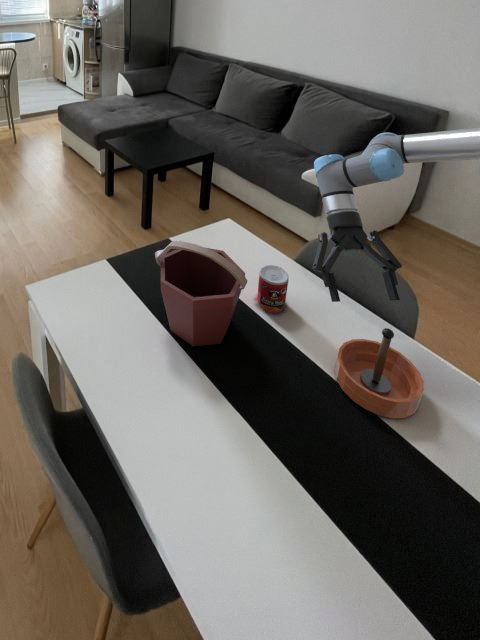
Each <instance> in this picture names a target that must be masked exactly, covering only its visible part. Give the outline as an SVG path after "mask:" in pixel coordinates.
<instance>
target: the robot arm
mask: <svg viewBox="0 0 480 640" xmlns="http://www.w3.org/2000/svg"><path fill="white" fill-rule="evenodd" d="M475 160H476V161H477V160H480V127H473V128H463V129H453V130H443V131H433V132H422V133H413V134H399V135H398V134H396V133H394V132H381V133H379V134H377V135H376V136H374V137H373V138H372V139H371V140H370V142H368V145H367V146H366V147H365V149H364V150H363V151H362V153H361V154H359V155H357V156H353V157H350V158H346V159H345V158H344V156H343V155H342V154H337V153H336V154H335V153H333V154H328V155H327V154H325V155H322V156H320V157H317V158H316V159H315V160H314V162H313V167H314V168H313V169H314V172H315V176H314V177H315V178H316V182H317V186H318V189H319V193H320V196H321V201H322V204H323V209H324V213H325V214H326V215H327V216H326V217H325V218H326V221H327V226H328V229H329V231H330V232H329V233H327V232H326V231H323V232H320V233H318V235H317V238H318V244H317V248H316V252H315V255H314V260H313V264H312V268H311V269H312V271H313V272H318V273H319V274H320V275H321V277H322V281H323V285H324V287H325V288H328V291H329V292H328V293H329V295H330V300H331V302H332V303H336V302H341V298H340V294H339V290H338V286H337V282H336V278H335V273H334V272H331V270H332V269H333V266H334V265H335V263H336V262H337V260H338V258H339V256H340V254H341V253H342V252H348V251H360V252H361V253H364V254H365V255H366V257H368V258H369V259H371V260H372V261H373V262H374V263H375V264H376V265H378V266H379V267H380V268H381V270H383V271H382V272H381V275H382V278H383V281H384V282H383V283H384V286H385V288H386V292H387V295H388V300H389V301H401V299H400V296H399V292H398V290H397V286H398V285H399V281H398V277H397V275H396V271H397V270H398V269H402V267H403V265H402V263H401V262H400V260H398V258H397V257H396V256H395V255H394V253H393V252H392V251H391V250H390V249H389V248H388V246H387V245H386V243H384V241H382V239H381V236H380V234H379V232H378V230H371V231H369V232H365V230H364V227H363V225H364V224H363V222H362V218H361V214H360V213H359V212H358V210H359V207H358V204H357V200H356V197H355V193H354V188H359V187H363V186H367V185H372V184H377V183H381V182H388V181H392V180H394V179H397V178H400V177H402V176H403V175H404V172H405V165H404V164H415V163H417V164H418V163H436V162H455V161H458V162H459V161H475ZM330 240H331V241H332V242H333V243H334V245H333V246H332V248H331V251H330V252H329V255H328V256H327V258H326V259H325V257H326V252H327V249H328V244H329V242H330ZM366 240H368V241H370V243H371V244H372V245H371V244H369V243H368V242H367V241H366ZM372 246H373V247H374V248H375V249H376V250H375V249H373V247H372Z"/></svg>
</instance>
